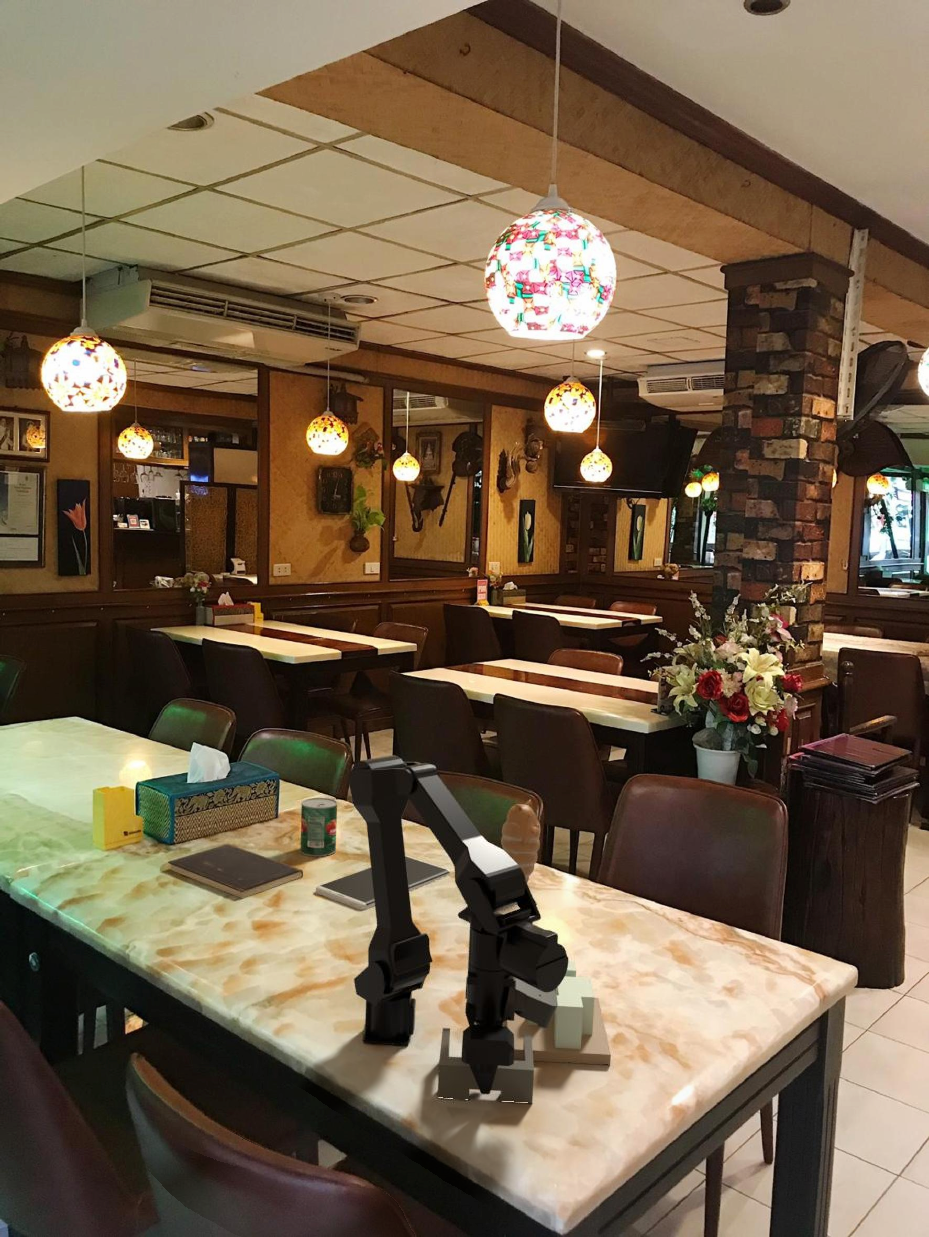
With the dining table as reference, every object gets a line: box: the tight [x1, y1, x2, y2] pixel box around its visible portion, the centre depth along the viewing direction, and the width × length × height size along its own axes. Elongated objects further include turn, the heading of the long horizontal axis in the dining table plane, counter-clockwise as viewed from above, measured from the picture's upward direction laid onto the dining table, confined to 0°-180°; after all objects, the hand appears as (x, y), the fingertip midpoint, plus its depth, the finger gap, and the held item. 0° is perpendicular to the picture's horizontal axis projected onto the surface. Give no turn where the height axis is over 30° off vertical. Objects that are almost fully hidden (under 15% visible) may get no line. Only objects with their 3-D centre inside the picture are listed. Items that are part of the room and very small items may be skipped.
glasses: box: [437, 1027, 535, 1104], centre depth 125 cm, size 9×12×4 cm
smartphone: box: [315, 855, 451, 911], centre depth 194 cm, size 13×27×2 cm, turn 142°
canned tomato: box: [299, 797, 338, 858], centre depth 211 cm, size 8×8×11 cm
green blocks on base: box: [506, 960, 612, 1066], centre depth 138 cm, size 14×16×8 cm
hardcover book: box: [167, 843, 304, 899], centre depth 196 cm, size 16×23×2 cm
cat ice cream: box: [500, 799, 541, 884], centre depth 193 cm, size 9×8×18 cm
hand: (485, 1079), depth 121 cm, fingers open, 6 cm apart
